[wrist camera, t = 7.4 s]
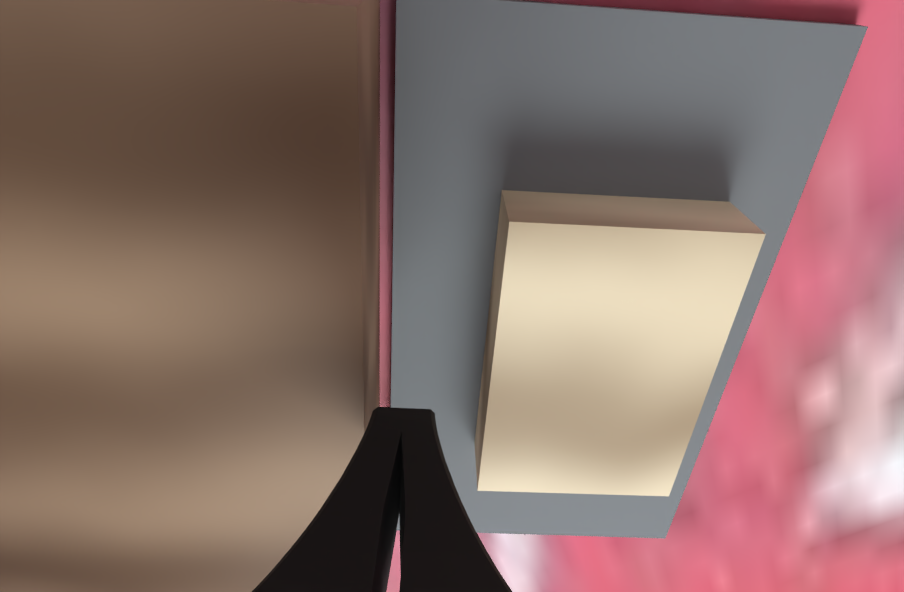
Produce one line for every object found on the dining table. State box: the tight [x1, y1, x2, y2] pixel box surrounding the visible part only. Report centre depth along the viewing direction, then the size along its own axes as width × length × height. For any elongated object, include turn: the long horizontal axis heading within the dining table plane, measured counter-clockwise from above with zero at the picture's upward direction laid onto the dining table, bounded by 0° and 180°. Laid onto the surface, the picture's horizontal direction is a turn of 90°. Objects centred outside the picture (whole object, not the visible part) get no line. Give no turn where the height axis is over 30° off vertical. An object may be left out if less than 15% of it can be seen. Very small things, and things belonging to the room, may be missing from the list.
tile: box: [475, 190, 766, 496], centre depth 17 cm, size 9×6×2 cm, turn 177°
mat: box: [391, 0, 868, 538], centre depth 18 cm, size 18×11×1 cm, turn 176°
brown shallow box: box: [0, 0, 380, 592], centre depth 16 cm, size 18×12×4 cm, turn 176°
